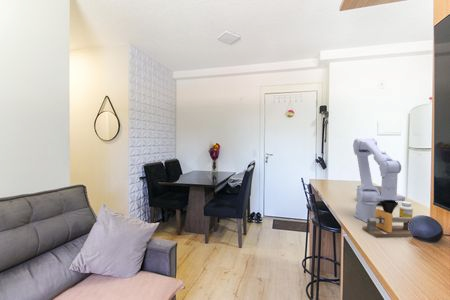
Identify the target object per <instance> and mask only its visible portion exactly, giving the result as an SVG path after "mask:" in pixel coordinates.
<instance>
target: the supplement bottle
mask: <svg viewBox="0 0 450 300" xmlns="http://www.w3.org/2000/svg"><path fill="white" fill-rule="evenodd" d="M413 211H414V209H413V207H412V202H409V201H401V205H400V206H399V212H398V214H399V216H398V217H410V218H412V219H413V213H414V212H413Z"/></svg>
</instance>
